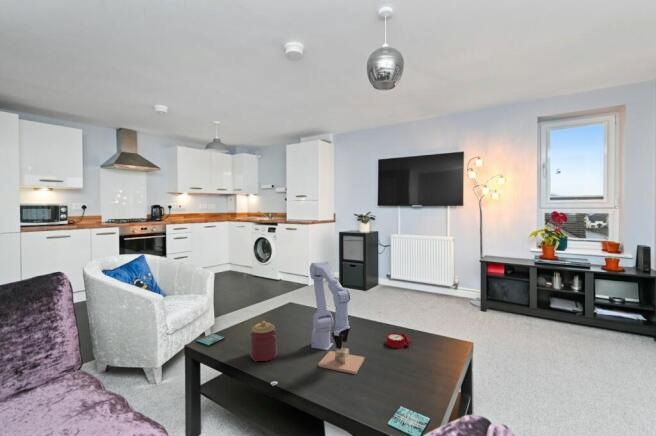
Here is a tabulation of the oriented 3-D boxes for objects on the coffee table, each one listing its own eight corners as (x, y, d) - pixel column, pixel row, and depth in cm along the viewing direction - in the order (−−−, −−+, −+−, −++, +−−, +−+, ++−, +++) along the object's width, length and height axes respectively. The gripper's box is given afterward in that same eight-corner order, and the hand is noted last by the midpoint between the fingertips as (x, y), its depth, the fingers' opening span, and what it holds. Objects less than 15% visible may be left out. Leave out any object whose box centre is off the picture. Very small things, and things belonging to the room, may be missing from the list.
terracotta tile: (318, 366, 143) (318, 363, 143) (329, 353, 156) (329, 350, 156) (355, 374, 136) (355, 371, 136) (364, 359, 149) (364, 357, 149)
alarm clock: (381, 333, 171) (407, 326, 172) (384, 344, 171) (410, 337, 172) (386, 342, 160) (414, 334, 161) (389, 353, 161) (416, 346, 161)
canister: (282, 355, 153) (282, 320, 153) (260, 365, 144) (259, 328, 143) (266, 347, 162) (266, 314, 162) (244, 356, 153) (244, 321, 152)
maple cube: (335, 361, 144) (335, 351, 144) (339, 357, 149) (338, 346, 149) (345, 364, 142) (345, 353, 142) (348, 359, 147) (348, 348, 147)
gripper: (344, 322, 137) (344, 353, 137) (354, 312, 150) (354, 340, 151) (329, 320, 139) (329, 350, 140) (340, 310, 153) (340, 337, 153)
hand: (341, 344), depth 146 cm, fingers open, 7 cm apart
